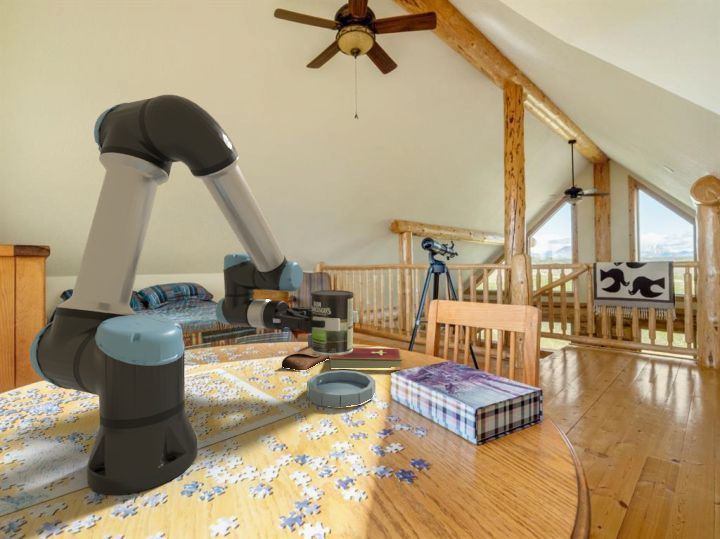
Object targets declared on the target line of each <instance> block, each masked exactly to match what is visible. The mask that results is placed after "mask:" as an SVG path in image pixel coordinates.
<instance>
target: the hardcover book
mask: <svg viewBox="0 0 720 539" xmlns="http://www.w3.org/2000/svg"><path fill="white" fill-rule="evenodd" d="M328 361H330V362H329V363H330V364H329V365H330V368H391V367H400V368H401V362H403V358H402V353H401V350H400V348H387V347H386V348H379V347H378V348H377V347H376V348H375V347H374V348H373V347H353V351H352V352H351V353H349V354H345V355H340V356H330V357H329V360H328ZM330 368H329V369H330Z"/></svg>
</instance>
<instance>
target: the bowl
mask: <svg viewBox="0 0 720 539" xmlns="http://www.w3.org/2000/svg"><path fill="white" fill-rule="evenodd" d="M374 393H375V394H376V380H375V379H374V378H373V377H372V376H371V375H370V374H368V373H363V372H360V371H358V370H329V371H324V372H322V373H318V374H315V375H313V376H311V377H310V378H309V379H308V380H307V381H306V396H307V398H308V401H309V402H310V401H311V402H310V403H312V402H313V404H314V403H315V405H317V404H318V405H317V406H319V405H320V406H319V407H321V406H330V407H346V406H351V405H358V404H361V403H363V402H365V401H367V400H369V399H371V398H372V397H373V395H374Z"/></svg>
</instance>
